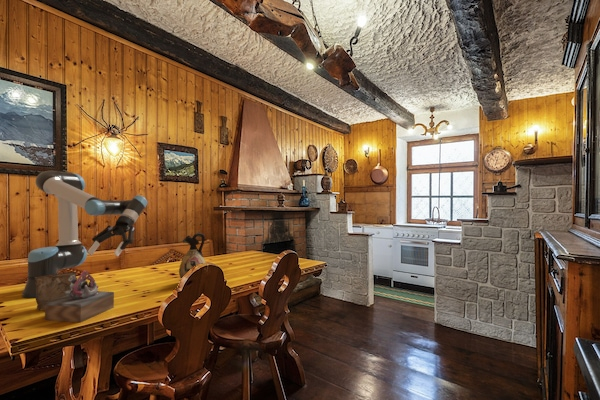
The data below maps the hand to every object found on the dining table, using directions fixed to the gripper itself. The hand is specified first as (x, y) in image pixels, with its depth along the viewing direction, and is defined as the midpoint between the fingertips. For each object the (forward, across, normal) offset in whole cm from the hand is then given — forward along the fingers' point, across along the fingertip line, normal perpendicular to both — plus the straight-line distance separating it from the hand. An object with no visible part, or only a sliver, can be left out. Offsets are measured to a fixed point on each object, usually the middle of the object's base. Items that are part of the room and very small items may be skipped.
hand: (102, 254), depth 134 cm
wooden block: (+24, 0, -9) cm, 26 cm away
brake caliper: (+18, 0, -5) cm, 19 cm away
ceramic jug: (-13, -23, -46) cm, 53 cm away
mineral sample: (+21, +17, -13) cm, 30 cm away
